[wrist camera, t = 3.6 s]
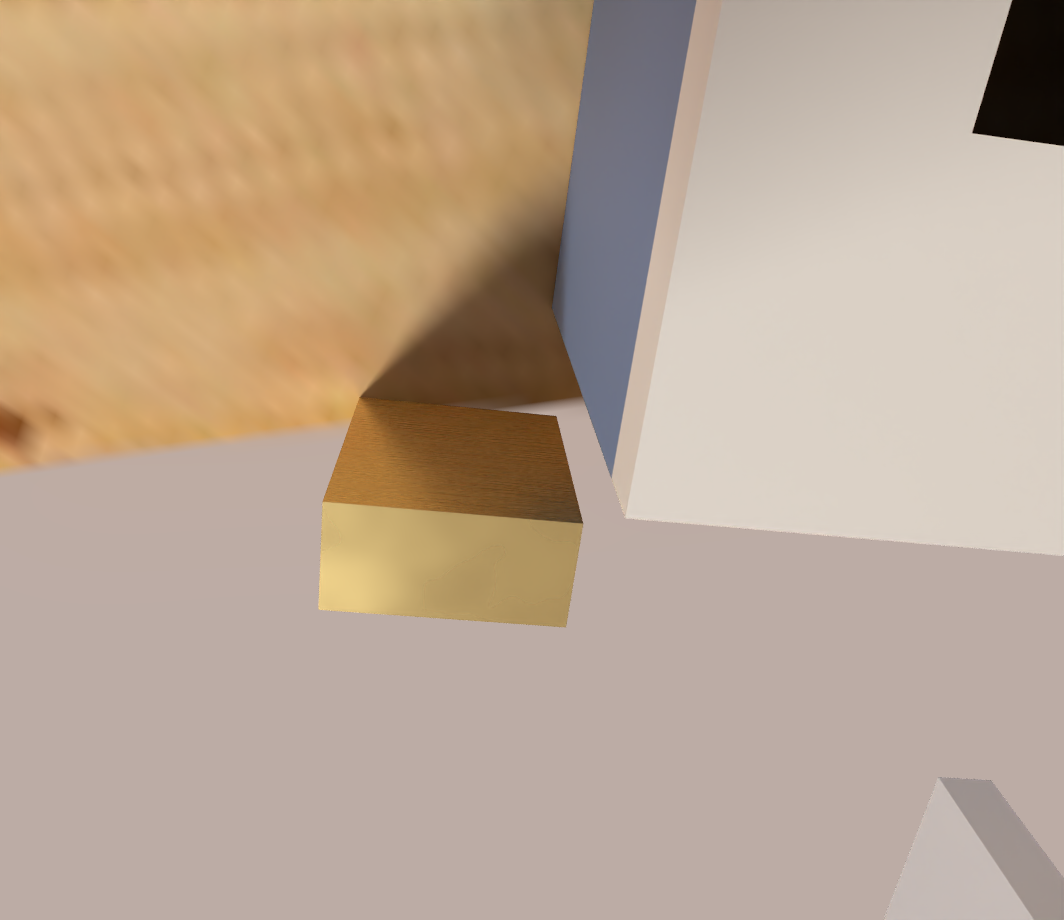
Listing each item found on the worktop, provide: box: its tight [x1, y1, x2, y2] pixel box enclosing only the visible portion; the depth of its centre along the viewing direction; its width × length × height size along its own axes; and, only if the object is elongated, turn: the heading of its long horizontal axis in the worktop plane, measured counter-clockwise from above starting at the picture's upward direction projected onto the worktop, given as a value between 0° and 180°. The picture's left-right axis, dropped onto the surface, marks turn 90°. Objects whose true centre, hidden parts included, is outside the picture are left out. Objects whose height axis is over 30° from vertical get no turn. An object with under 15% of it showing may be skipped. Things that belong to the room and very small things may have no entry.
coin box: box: [552, 0, 1064, 556], centre depth 14 cm, size 14×14×11 cm
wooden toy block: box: [319, 397, 583, 627], centre depth 20 cm, size 5×2×6 cm, turn 83°
